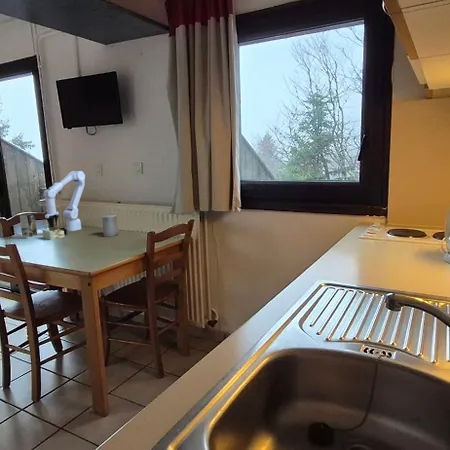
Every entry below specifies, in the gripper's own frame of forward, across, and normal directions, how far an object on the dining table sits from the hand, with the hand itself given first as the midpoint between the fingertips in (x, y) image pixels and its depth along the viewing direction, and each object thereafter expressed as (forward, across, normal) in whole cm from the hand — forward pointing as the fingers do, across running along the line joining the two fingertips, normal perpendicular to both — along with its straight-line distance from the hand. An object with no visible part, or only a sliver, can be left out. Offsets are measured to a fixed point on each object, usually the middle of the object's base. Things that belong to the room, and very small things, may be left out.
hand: (53, 226), depth 283 cm
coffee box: (+6, -5, +15) cm, 17 cm away
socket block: (+5, -11, -7) cm, 14 cm away
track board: (+6, -8, -9) cm, 14 cm away
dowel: (+3, 0, 0) cm, 3 cm away
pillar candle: (+7, -2, -42) cm, 42 cm away
